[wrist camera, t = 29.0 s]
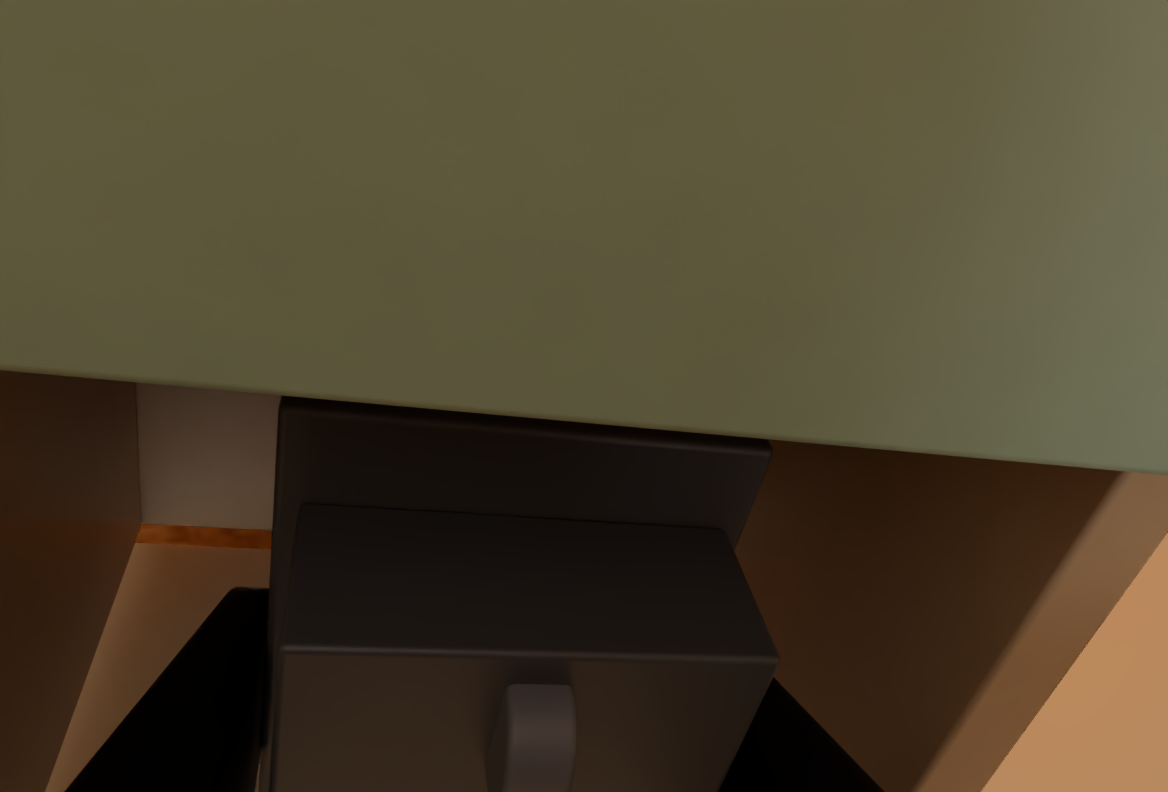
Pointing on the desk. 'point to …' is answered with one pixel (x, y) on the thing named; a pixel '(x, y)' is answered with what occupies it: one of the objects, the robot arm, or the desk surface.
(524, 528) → the stepped box with knob
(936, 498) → the drawer
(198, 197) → the cabinet
